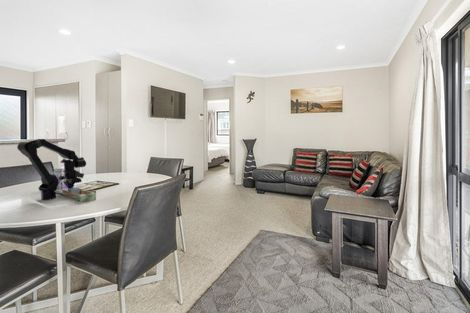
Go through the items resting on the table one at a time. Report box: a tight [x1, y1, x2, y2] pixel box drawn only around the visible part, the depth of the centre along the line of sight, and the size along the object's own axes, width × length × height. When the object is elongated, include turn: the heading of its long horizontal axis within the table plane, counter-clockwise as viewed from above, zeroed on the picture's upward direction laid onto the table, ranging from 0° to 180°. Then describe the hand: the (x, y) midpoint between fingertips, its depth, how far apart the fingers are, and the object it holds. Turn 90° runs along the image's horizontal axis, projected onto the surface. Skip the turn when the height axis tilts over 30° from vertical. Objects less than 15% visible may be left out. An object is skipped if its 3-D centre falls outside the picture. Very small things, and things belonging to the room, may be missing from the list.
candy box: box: [52, 166, 75, 191], centre depth 189 cm, size 14×6×16 cm, turn 179°
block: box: [67, 186, 80, 194], centre depth 169 cm, size 5×5×4 cm
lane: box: [61, 187, 97, 203], centre depth 167 cm, size 15×25×4 cm, turn 56°
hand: (70, 191), depth 171 cm, fingers closed
